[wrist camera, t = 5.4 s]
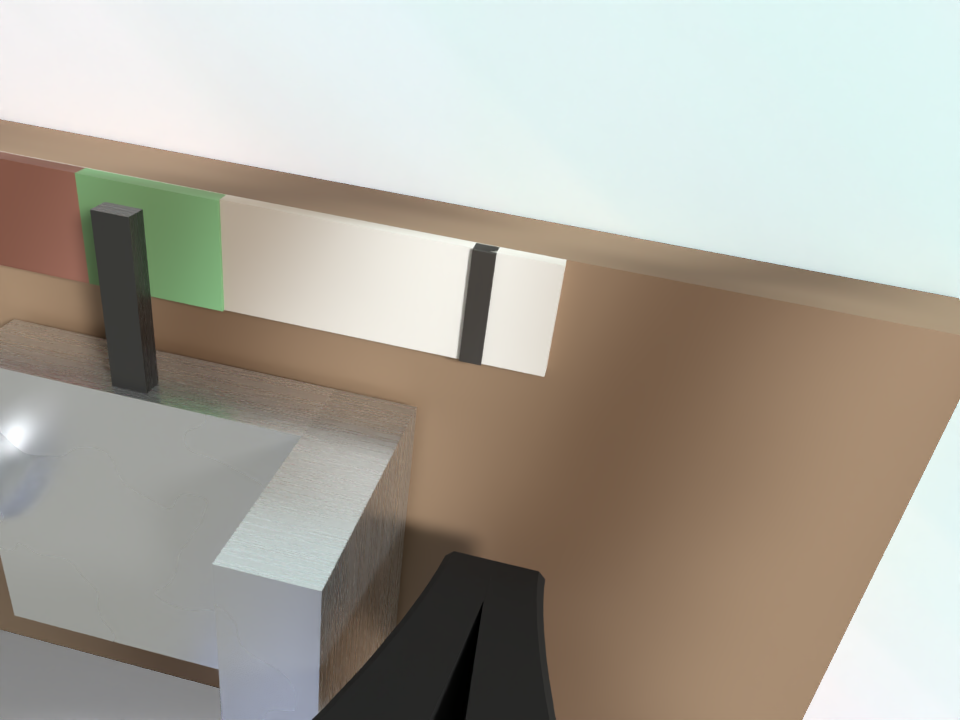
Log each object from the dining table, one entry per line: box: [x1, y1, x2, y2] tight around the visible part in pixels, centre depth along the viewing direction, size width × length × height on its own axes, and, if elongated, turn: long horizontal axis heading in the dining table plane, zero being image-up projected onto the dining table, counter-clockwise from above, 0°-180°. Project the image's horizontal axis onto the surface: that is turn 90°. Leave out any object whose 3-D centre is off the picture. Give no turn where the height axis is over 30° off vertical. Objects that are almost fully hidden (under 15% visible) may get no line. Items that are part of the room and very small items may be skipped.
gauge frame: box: [0, 120, 960, 720], centre depth 12 cm, size 20×10×6 cm, turn 83°
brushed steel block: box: [0, 202, 417, 720], centre depth 11 cm, size 8×8×4 cm
